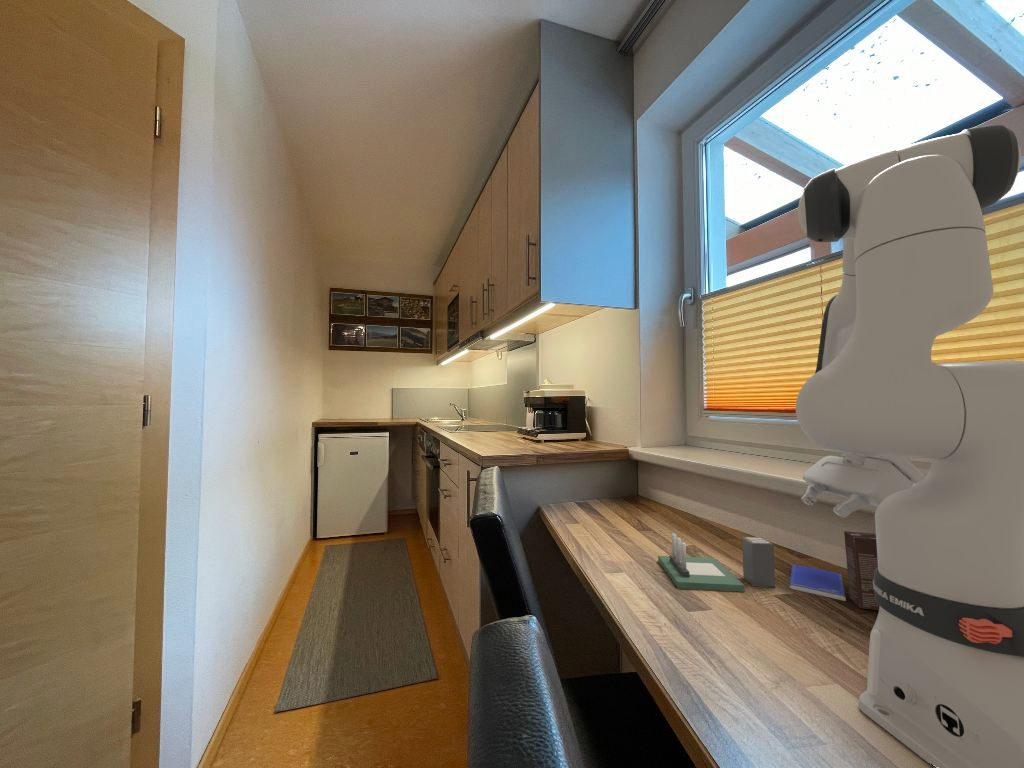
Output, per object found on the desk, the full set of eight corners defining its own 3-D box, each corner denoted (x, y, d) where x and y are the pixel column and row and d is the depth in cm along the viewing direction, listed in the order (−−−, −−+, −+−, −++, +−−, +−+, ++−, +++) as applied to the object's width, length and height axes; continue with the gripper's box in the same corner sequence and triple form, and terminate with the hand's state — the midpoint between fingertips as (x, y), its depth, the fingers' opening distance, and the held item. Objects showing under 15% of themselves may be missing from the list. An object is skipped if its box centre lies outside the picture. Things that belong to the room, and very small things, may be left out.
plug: (775, 587, 75) (773, 543, 76) (753, 585, 76) (751, 542, 76) (764, 578, 79) (762, 537, 80) (743, 577, 80) (741, 536, 80)
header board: (744, 591, 73) (743, 552, 74) (677, 588, 74) (676, 549, 75) (714, 563, 87) (713, 530, 87) (658, 561, 88) (657, 528, 89)
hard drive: (845, 595, 70) (841, 573, 80) (789, 583, 75) (791, 563, 84) (846, 604, 70) (841, 581, 79) (789, 591, 75) (792, 571, 84)
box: (888, 603, 69) (884, 533, 70) (904, 615, 65) (899, 540, 66) (846, 597, 71) (842, 529, 72) (859, 609, 67) (854, 536, 68)
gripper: (822, 443, 88) (778, 486, 88) (903, 452, 67) (845, 508, 68) (845, 464, 87) (800, 507, 87) (934, 479, 67) (875, 535, 67)
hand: (820, 508), depth 77 cm, fingers open, 8 cm apart
